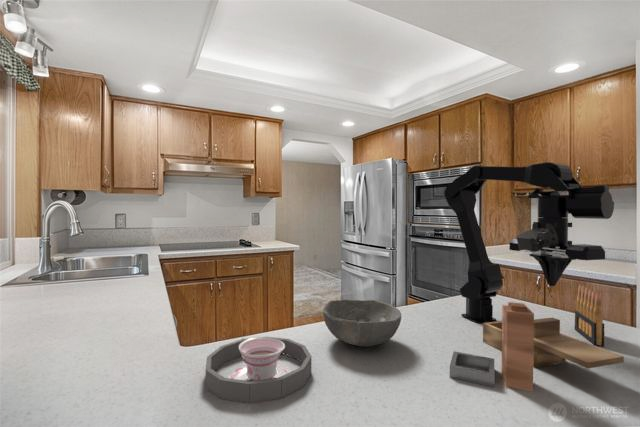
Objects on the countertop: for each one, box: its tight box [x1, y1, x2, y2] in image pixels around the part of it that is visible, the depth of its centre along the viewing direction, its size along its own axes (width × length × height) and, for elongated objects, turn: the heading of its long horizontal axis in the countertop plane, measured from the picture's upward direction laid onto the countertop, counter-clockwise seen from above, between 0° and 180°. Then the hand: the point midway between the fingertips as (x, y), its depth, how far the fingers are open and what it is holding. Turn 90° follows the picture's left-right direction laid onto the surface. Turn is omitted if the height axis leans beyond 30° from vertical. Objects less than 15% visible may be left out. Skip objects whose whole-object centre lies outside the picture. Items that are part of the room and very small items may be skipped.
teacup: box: [226, 336, 293, 381], centre depth 59 cm, size 12×12×6 cm
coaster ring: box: [205, 336, 312, 404], centre depth 61 cm, size 19×19×3 cm
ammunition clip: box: [574, 283, 605, 347], centre depth 79 cm, size 11×2×12 cm, turn 162°
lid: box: [534, 317, 625, 369], centre depth 62 cm, size 13×8×4 cm, turn 17°
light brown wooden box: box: [482, 320, 566, 369], centre depth 71 cm, size 13×8×4 cm, turn 17°
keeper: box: [449, 350, 496, 388], centre depth 61 cm, size 7×7×2 cm
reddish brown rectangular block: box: [501, 301, 535, 391], centre depth 58 cm, size 4×4×14 cm
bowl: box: [322, 299, 402, 347], centre depth 76 cm, size 18×18×8 cm
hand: (551, 285), depth 76 cm, fingers closed
